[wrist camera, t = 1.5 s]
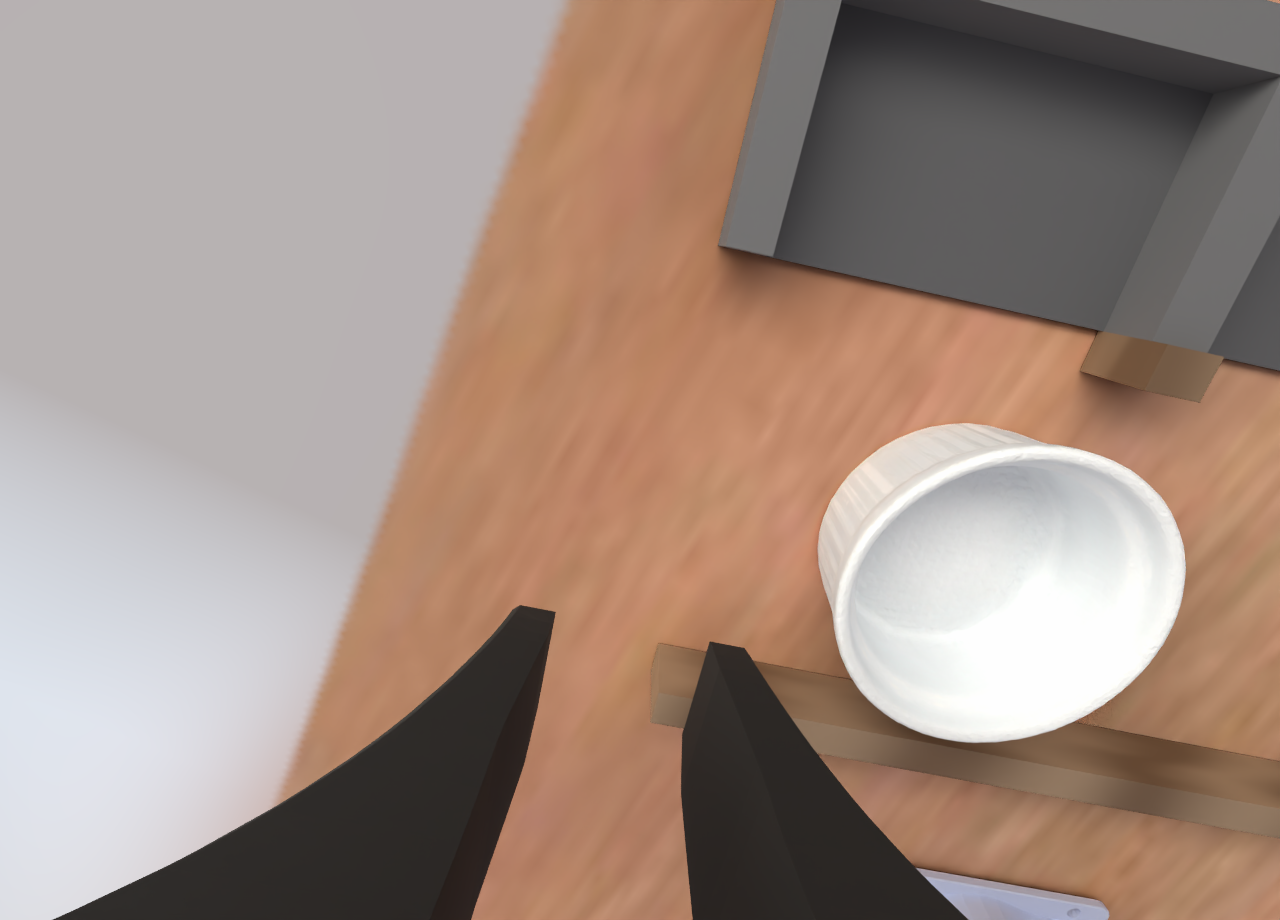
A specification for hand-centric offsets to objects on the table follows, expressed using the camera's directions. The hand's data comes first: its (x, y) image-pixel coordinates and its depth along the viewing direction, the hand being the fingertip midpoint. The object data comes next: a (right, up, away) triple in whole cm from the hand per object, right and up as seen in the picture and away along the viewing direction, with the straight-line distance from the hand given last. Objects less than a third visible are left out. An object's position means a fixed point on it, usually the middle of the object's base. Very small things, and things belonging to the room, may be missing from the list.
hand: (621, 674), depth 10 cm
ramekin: (+10, +1, +10) cm, 14 cm away
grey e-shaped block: (+15, +10, +6) cm, 19 cm away
